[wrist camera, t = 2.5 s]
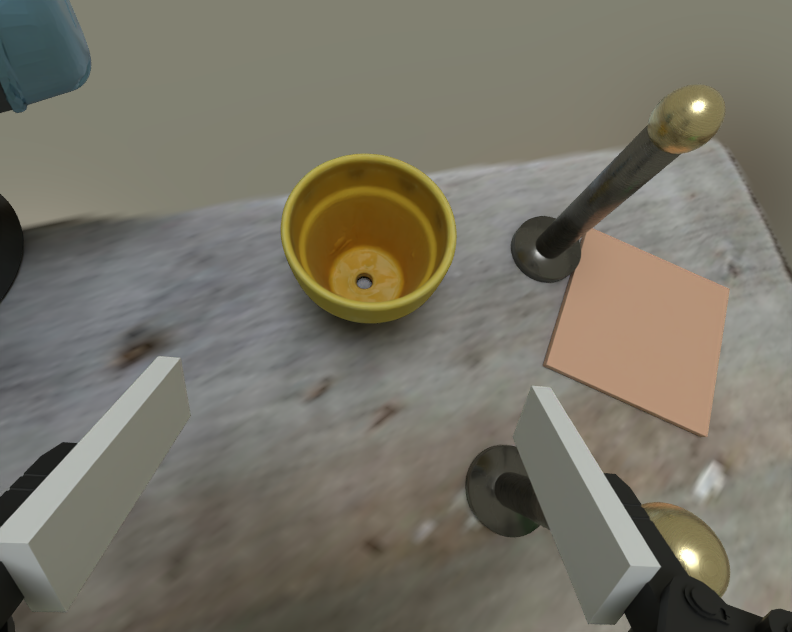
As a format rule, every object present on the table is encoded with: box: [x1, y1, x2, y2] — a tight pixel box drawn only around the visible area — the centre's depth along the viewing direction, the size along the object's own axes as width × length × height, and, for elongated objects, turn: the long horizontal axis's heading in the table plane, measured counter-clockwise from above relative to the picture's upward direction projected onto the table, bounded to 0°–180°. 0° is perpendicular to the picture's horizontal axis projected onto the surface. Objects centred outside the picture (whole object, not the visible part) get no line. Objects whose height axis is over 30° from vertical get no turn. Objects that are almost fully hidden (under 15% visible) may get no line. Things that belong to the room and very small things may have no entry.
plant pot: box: [281, 154, 457, 323], centre depth 27 cm, size 10×10×10 cm
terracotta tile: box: [543, 228, 730, 437], centre depth 33 cm, size 14×14×1 cm
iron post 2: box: [466, 445, 730, 597], centre depth 20 cm, size 6×6×17 cm
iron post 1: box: [511, 84, 725, 282], centre depth 26 cm, size 6×6×17 cm
